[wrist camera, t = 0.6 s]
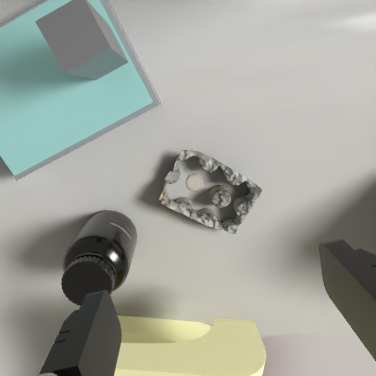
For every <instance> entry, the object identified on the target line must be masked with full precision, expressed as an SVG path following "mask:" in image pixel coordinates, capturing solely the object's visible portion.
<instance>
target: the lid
mask: <svg viewBox="0 0 376 376" xmlns="http://www.w3.org/2000/svg"><path fill="white" fill-rule="evenodd" d="M152 102H153V101H152V99H151V97H150V95H149V93H148V91H147V89H146V87H145V85H144V84H143V82H142V80H141V78H140V76H139V74H138V72H137V70H136V68H135V66H134V64H133V63H132V61H131V59H130V57H129V55H128V53H127V51H126V49H125V47H124V45H123V43H122V42H121V40H120V38H119V36H118V34H117V32H116V30H115V28H114V26H113V24H112V22H111V21H110V19H109V17H108V15H107V13H106V11H105V9H104V7H103V5H102V3H101V1H100V0H48V1H46V2H44V3H43V4H41V5H39V6H37V7H36V8H34V9H32V10H30V11H29V12H27V13H25V14H23V15H22V16H20V17H18V18H16V19H15V20H13V21H11V22H10V23H8V24H6V25H4V26H3V27H1V28H0V156H1V158H2V159H3V161H4V162H5V164H6V165H7V166H8V168H9V169H10V171H11V172H12V174H13V175H14V176H15V175H17V174H19V173H21V172H23V171H25V170H27V169H29V168H30V167H32V166H34V165H36V164H38V163H40V162H42V161H44V160H45V159H47V158H49V157H51V156H53V155H55V154H57V153H59V152H60V151H62V150H64V149H66V148H68V147H70V146H72V145H74V144H75V143H77V142H79V141H81V140H83V139H85V138H87V137H88V136H90V135H92V134H94V133H96V132H98V131H100V130H102V129H103V128H105V127H107V126H109V125H111V124H113V123H115V122H117V121H118V120H120V119H122V118H124V117H126V116H128V115H130V114H132V113H133V112H135V111H137V110H139V109H141V108H143V107H145V106H147V105H148V104H150V103H152Z"/></svg>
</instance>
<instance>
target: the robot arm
mask: <svg viewBox="0 0 376 376" xmlns="http://www.w3.org/2000/svg"><path fill="white" fill-rule="evenodd" d="M319 251H320V259H321V267H322V275H323V282H324V286H325V289H326V291H327V293H328V295H329V297H330V299H331V300H332V301H333V303H334V304H335V305H336V307H337V308H338V310H339V311H340V312H341V314H342V315H343V317H344V318H345V319H346V321H347V322H348V323H349V325H350V326H351V328H352V329H353V330H354V332H355V333H356V335H357V336H358V337H359V339H360V340H361V341H362V343H363V344H364V346H365V347H366V348H367V350H368V351H369V352H370V354H371V355H372V356H373V358H374V359H375V361H376V256H375V255H374V254H372V253H369V252H367V251H364V250H362V249H357V250H353V249H352V248H351V247H350V246H349V245H348V244H347V243H346V242H345V241H343V240H342V239H338V240H333V241H329V242H324V243H320V245H319ZM121 340H122V331H121V325H120V322H119V319H118V316H117V313H116V311H115V308H114V305H113V302H112V299H111V296H110V294H109V292H108V291H107V290H104V291H100V292H95V293H91V294H87V295H86V296H85V298H84V300H83V303H82V305H81V307H80V309H79V310H76V311H74V312H73V313H72V314H71V315H70V316H69V317H68V318H67V319H66V320H65V321H64V323H63V325H62V327H61V330H60V332H59V335H58V336H57V338H56V340H55V344H53V346H52V348H51V351H50V353H49V355H48V357H47V359H46V361H45V363H44V365H43V367H42V369H41V372H40V374H39V375H38V376H114V373H115V369H116V364H117V359H118V355H119V350H120V345H121Z"/></svg>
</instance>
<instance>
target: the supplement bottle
mask: <svg viewBox="0 0 376 376" xmlns="http://www.w3.org/2000/svg"><path fill="white" fill-rule="evenodd" d="M136 241H137V233H136V229H135V226H134V225H133V223H132V222H131V220H130V219H129V218H128V217H126V216H125V215H123V214H121V213H119V212H116V211H102V212H99V213H97V214H95V215H93V216H92V217H91V218H89V219H88V221H87V222H86V223H85V224H84V226H83V227H82V229H81V230H80V231H79V233H78V234H77V236H76V237H75V238H74V240H73V241H72V243H71V244H70V245H69V247H68V248H67V250H66V252H65V254H64V258H63V271H64V274H63V277H62V283H61V285H62V289H63V293H64V294H65V295H66V297H67V298H68V299H69V300H70V301H72V302H73V303H76V304H77V305H80V306H81V305H82V303H83V300H84V298H85V296H86V295H87V294H91V293H95V292H100V291H104V290H107V291H108V292H109V294H110V295H111V293H112V292H113V291H114V290H116V289H117V288H119V287H120V286H121V285H122V284H123V282H124V281H125V279H126V277H127V275H128V272H129V268H130V265H131V261H132V257H133V253H134V250H135V246H136Z"/></svg>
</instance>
